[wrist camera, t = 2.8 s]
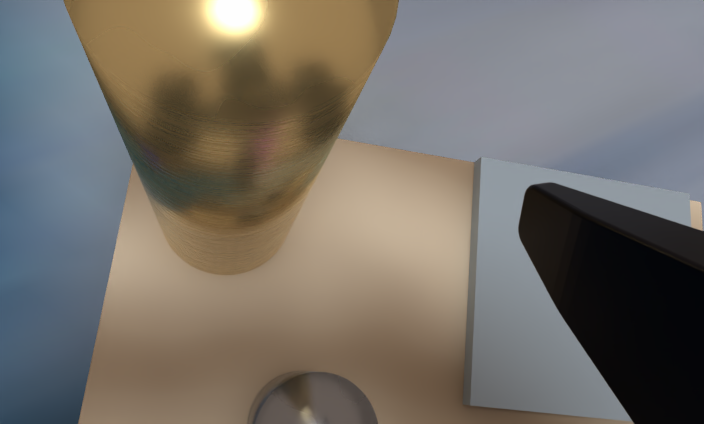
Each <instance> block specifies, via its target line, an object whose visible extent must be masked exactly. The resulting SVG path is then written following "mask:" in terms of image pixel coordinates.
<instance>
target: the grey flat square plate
mask: <svg viewBox="0 0 704 424" xmlns="http://www.w3.org/2000/svg"><path fill="white" fill-rule="evenodd" d="M547 182H553V183H557V184H560V185H563V186H566V187H569V188H572V189H575V190H578V191H581V192H584V193H587V194H591V195H594V196H597V197H600V198H603V199H606V200H609V201H612V202H615V203H618V204H621V205H624V206H628V207H631V208H634V209H637V210H640V211H643V212H646V213H649V214H652V215H655V216H658V217H661V218H665V219H668V220H671V221H674V222H677V223H680V224H683V225H686V226H689V227H691V213H690V194H688V193H682V192H677V191H671V190H666V189H660V188H654V187H649V186H643V185H637V184H632V183H626V182H620V181H615V180H609V179H604V178H598V177H592V176H587V175H581V174H575V173H570V172H564V171H558V170H553V169H547V168H542V167H536V166H530V165H525V164H519V163H513V162H508V161H502V160H497V159H491V158H485V157H481V158H479V159H478V160H477V161H476V162H474V178H473V198H472V219H471V240H470V261H469V282H468V302H467V323H466V344H465V365H464V386H463V404H464V405H471V406H481V407H491V408H501V409H511V410H521V411H531V412H541V413H551V414H561V415H571V416H582V417H592V418H602V419H612V420H622V421H632V420H631V418H630V417H629V415H628V414H627V412H626V411H625V410H624V408H623V407H622V405H621V404H620V402H619V401H618V399H617V398H616V396H615V395H614V393H613V392H612V390H611V389H610V387H609V386H608V384H607V383H606V381H605V380H604V378H603V377H602V375H601V374H600V373H599V371H598V370H597V368H596V367H595V365H594V364H593V362H592V361H591V359H590V358H589V356H588V355H587V353H586V352H585V350H584V349H583V347H582V346H581V344H580V343H579V341H578V340H577V339H576V337H575V336H574V334H573V333H572V331H571V330H570V328H569V327H568V325H567V324H566V322H565V321H564V319H563V318H562V316H561V314H560V313H559V311H558V310H557V308H556V306H555V304H554V303H553V301H552V299H551V297H550V295H549V293H548V292H547V290H546V288H545V286H544V284H543V282H542V280H541V278H540V276H539V275H538V273H537V271H536V269H535V267H534V265H533V263H532V261H531V259H530V258H529V256H528V254H527V252H526V250H525V248H524V246H523V244H522V242H521V240H520V237H519V233H518V225H519V219H520V214H521V209H522V204H523V199H524V194H525V191H526V189H527V188H528V187H529V186H530V185H533V184H540V183H547ZM632 422H633V421H632Z"/></svg>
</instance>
